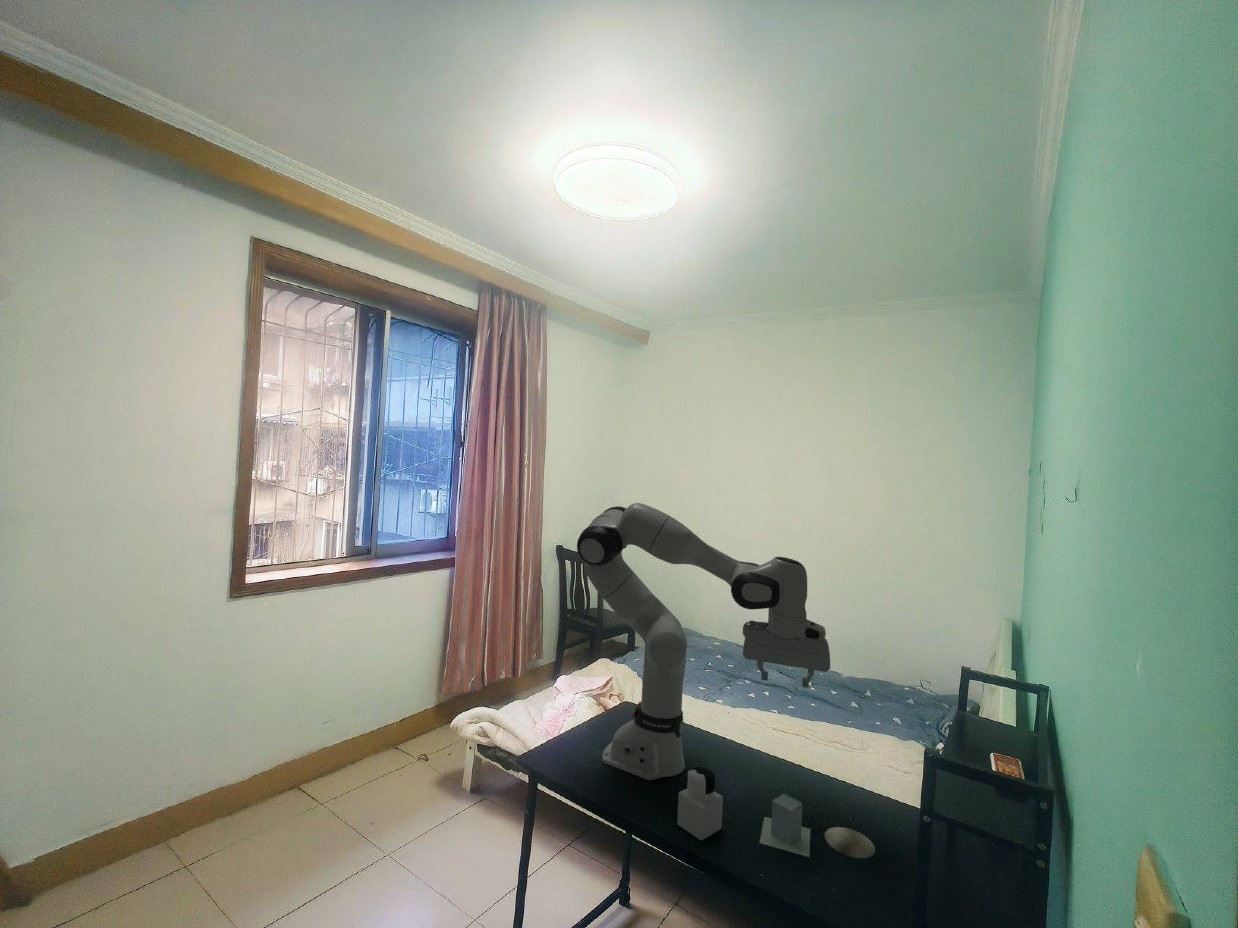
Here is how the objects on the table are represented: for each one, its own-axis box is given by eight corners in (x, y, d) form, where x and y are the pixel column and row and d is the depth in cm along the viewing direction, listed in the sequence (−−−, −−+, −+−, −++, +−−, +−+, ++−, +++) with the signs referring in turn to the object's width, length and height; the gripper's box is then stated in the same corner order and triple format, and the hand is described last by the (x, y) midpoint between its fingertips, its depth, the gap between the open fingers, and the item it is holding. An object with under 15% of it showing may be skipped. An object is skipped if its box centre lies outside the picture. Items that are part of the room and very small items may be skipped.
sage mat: (759, 843, 113) (759, 842, 113) (764, 817, 122) (764, 816, 122) (809, 857, 109) (809, 856, 109) (810, 829, 119) (810, 828, 119)
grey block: (770, 834, 116) (772, 800, 116) (782, 826, 119) (783, 793, 119) (790, 845, 113) (791, 810, 113) (801, 836, 116) (802, 802, 116)
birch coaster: (824, 850, 112) (824, 849, 112) (824, 823, 121) (824, 822, 121) (877, 864, 108) (877, 863, 108) (872, 835, 118) (872, 834, 118)
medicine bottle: (697, 812, 123) (699, 759, 123) (722, 828, 117) (724, 773, 118) (676, 824, 118) (678, 769, 118) (701, 841, 113) (703, 783, 113)
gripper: (741, 622, 129) (739, 679, 129) (831, 634, 122) (829, 695, 121) (745, 616, 135) (742, 671, 135) (831, 628, 128) (829, 686, 127)
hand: (784, 683), depth 128 cm, fingers open, 8 cm apart
